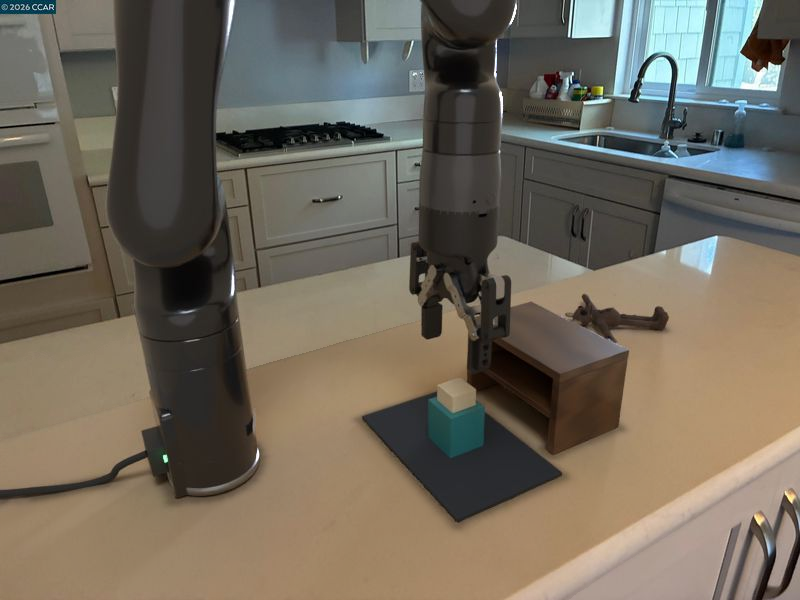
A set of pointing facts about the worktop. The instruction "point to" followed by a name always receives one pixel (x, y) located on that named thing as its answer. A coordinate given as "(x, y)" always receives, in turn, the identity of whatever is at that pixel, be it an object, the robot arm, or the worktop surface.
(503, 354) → the shelf
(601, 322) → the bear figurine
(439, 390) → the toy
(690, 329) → the worktop surface
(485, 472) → the mat
